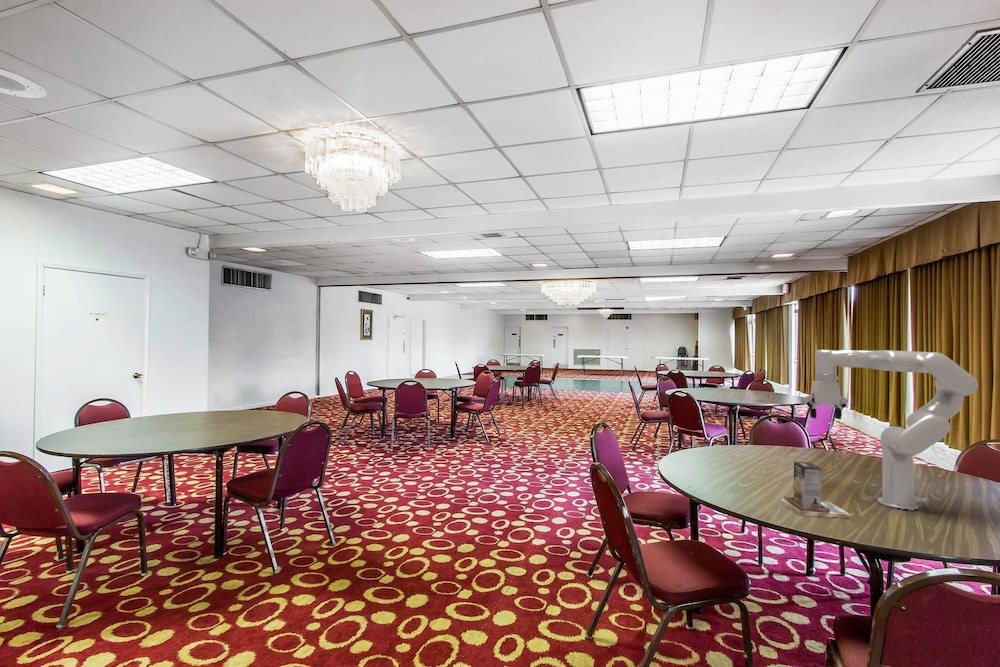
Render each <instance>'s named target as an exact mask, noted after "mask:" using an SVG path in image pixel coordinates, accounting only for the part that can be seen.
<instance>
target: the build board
mask: <svg viewBox="0 0 1000 667" xmlns="http://www.w3.org/2000/svg"><path fill="white" fill-rule="evenodd" d="M783 497H784V498H780V503H781V504H782V505H784V506H785V507H787V508H788V509H790V510H791V511H792V512H794V513H795V514H797V515H798V516H801V517H802V516H806V517H817V516H821V517H820V518H832V517H838V518H837V519H847V518H851V519H852V514H850V513H849V512H847V511H845V510H844V509H842V508H840V507H839V506H837V505H835V504H833V503H832V502H830V501H826V500H825V501H822V500H821V508H810V507H802V506H800V505H799V504H797V503H796V502H794V496H783Z"/></svg>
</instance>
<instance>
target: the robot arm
mask: <svg viewBox="0 0 1000 667" xmlns="http://www.w3.org/2000/svg"><path fill="white" fill-rule="evenodd" d="M814 355H815V360H814V362H815V363H814V365H815V366H814V367H815V371H814V375H815V376H814V378H815V380H813V381H812V383H811V388H810V394H809V395H807V396H805V397H803V401H804V403H805V405H806V406H807V407H808V408H809V416H810V418H813V419H817V409H816V408H817V407H818V406H819V405H821V406H833V407H834V419H837V420H842V416H843V414H842V412H843V410H844V408H846V407H847V404H848V403H849V401H850V400H849V399H848V398H846V397H844V396H842V395H841V388H840V385H839V381H838V380H840V378H841V376H840V375H838V373H837V372H838V369H837V368H838V367H841V368H861V369H862V368H863V369H870V370H871V369H872V370H878V371H887V372H901V373H902V372H904V373H917V374H918V373H921V374H931V376H933V377H934V378H935V380H934V386H935V393H934V394H935V395H934V396H933V397H932V399H930V400H929V401H928V402H927V403H926V404H924V405H922V406H921V407H920V408H918V409H917V410H915V411H913V412H912V413H910V415H909V416H908V417H907V418H906V425H907V427H906V428H903V427H900V426H888V427H887V428H885V429H884V430H883V431H882V432H881V434H880V446H881V454H882V491H881V492H882V493H881V494H882V495H881V497H880V496H879V497H877V502H878V503H879V504H880V505H883V506H886V507H889V508H893V507H894V508H893V509H897V508H901V509H900V510H903V509H908V510H907V511H916V510H915V509H918V508H919V503H920V504H927V503H928V499H927V498H926V497H918V496H916V495H915V494H914V466H915V464H914V457H913V456H917V455H919V454H921V453H923V452H924V451H926V450H927V449H929V448H931V447H932V446H934V445H935V444H936V443H938V442H939V441H941V440H942V439H944V438H945V437H946V436H947V435H948V433H949V432H950V430H951V425H950V422H949V420H950V419H952V418H953V417H954V416H956V415H957V413H959V412H960V410H961V409H962V407H963V402H964V397H966V396H967V397H968V396H971V395H973V394H975V393H976V392H977V391H978V388H979V384H978V383H979V382H978V381H977V379H976V378H975V377H974V375H972V374H970V373H969V372H968V371H967V370H965V369H964V368H963V367H961V366H960V364H958V363H956V362H954V361H953V359H951V358H949V357H948V356H947V355H945V354H943V353H942V352H937V351H936V352H935V351H933V352H932V351H912V350H910V351H909V350H891V349H890V350H889V349H887V350H854V349H853V350H852V349H839V350H833V349H817V350H816V351H815V354H814ZM841 401H842V402H841ZM918 510H919V509H918Z"/></svg>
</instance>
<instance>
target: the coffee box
mask: <svg viewBox="0 0 1000 667" xmlns="http://www.w3.org/2000/svg"><path fill="white" fill-rule="evenodd" d="M793 497H794V502H796V503H797V504H799V505H800V506H802V507H810V508H821V501H822V468H821V467H819V466H818V465H816V464H814V463H813V462H810V461H809V462H808V461H807V462H806V461H805V462H804V461H793Z"/></svg>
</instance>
